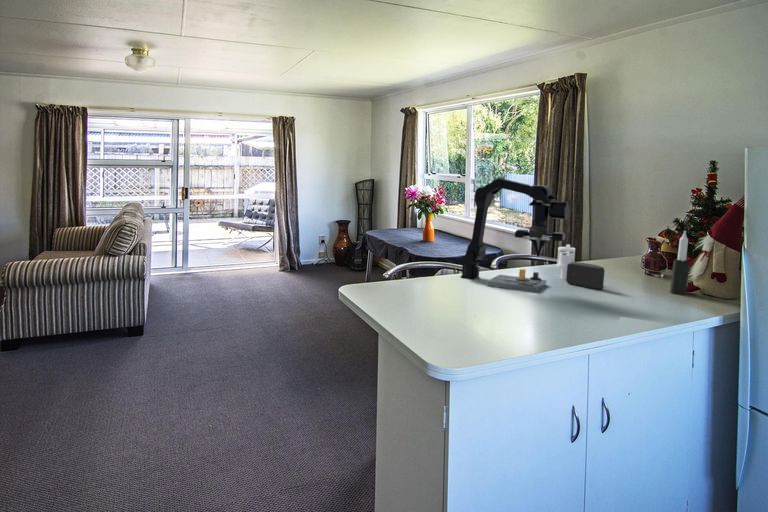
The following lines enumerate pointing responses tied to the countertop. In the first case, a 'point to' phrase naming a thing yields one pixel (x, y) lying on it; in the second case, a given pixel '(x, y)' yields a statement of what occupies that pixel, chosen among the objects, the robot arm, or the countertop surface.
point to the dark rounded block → (585, 275)
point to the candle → (680, 268)
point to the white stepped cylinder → (565, 259)
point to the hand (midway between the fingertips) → (538, 256)
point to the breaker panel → (518, 283)
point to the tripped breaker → (522, 275)
